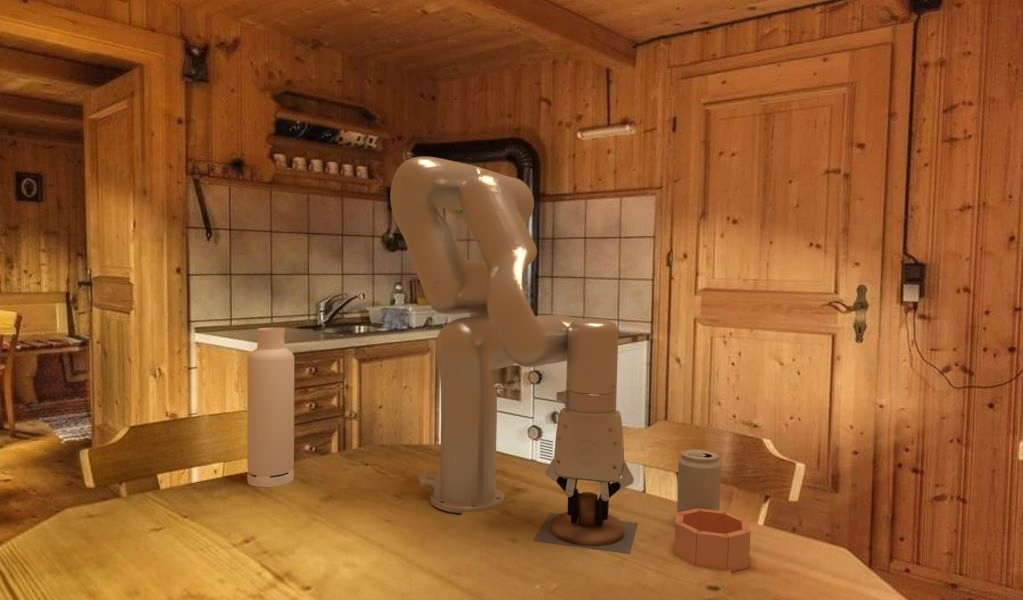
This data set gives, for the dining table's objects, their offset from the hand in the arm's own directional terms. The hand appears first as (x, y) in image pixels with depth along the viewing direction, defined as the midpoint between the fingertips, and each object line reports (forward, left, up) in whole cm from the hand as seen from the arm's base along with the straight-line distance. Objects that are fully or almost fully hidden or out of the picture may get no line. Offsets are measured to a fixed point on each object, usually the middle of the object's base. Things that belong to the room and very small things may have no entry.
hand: (587, 520), depth 105 cm
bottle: (-60, +7, -2) cm, 60 cm away
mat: (0, 0, -2) cm, 2 cm away
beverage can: (+16, +8, -2) cm, 18 cm away
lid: (0, 0, -2) cm, 2 cm away
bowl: (+18, -2, -2) cm, 18 cm away
